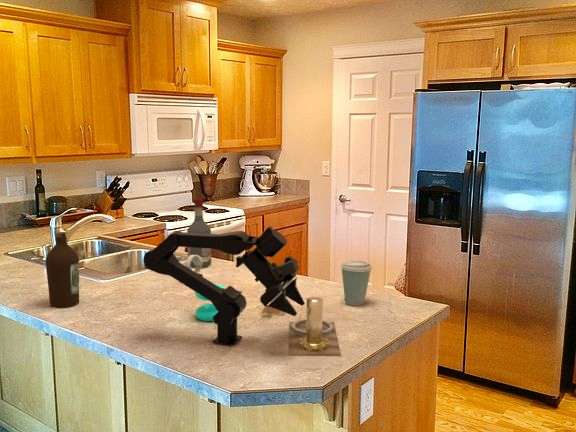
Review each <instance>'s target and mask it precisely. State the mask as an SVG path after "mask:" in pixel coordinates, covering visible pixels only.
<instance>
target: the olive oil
mask: <svg viewBox="0 0 576 432" xmlns="http://www.w3.org/2000/svg"><path fill="white" fill-rule="evenodd" d="M44 262H45V271H46V278H47V286H48V287H47V288H48V298H49V305H50V308H54V307H55V309H65V308H71V307H75V306H77V305H79V303H80V257H79V255H78V253H77V251H76V250H75V249H73V248H72V247H71V246H70V245H69V244H68V242H67V232H65V231H64V232H63V231H60V232H55V245H54V246H53V247H52V248H51V250H49V251H48V252H47V254H46V258H45V261H44Z"/></svg>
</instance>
